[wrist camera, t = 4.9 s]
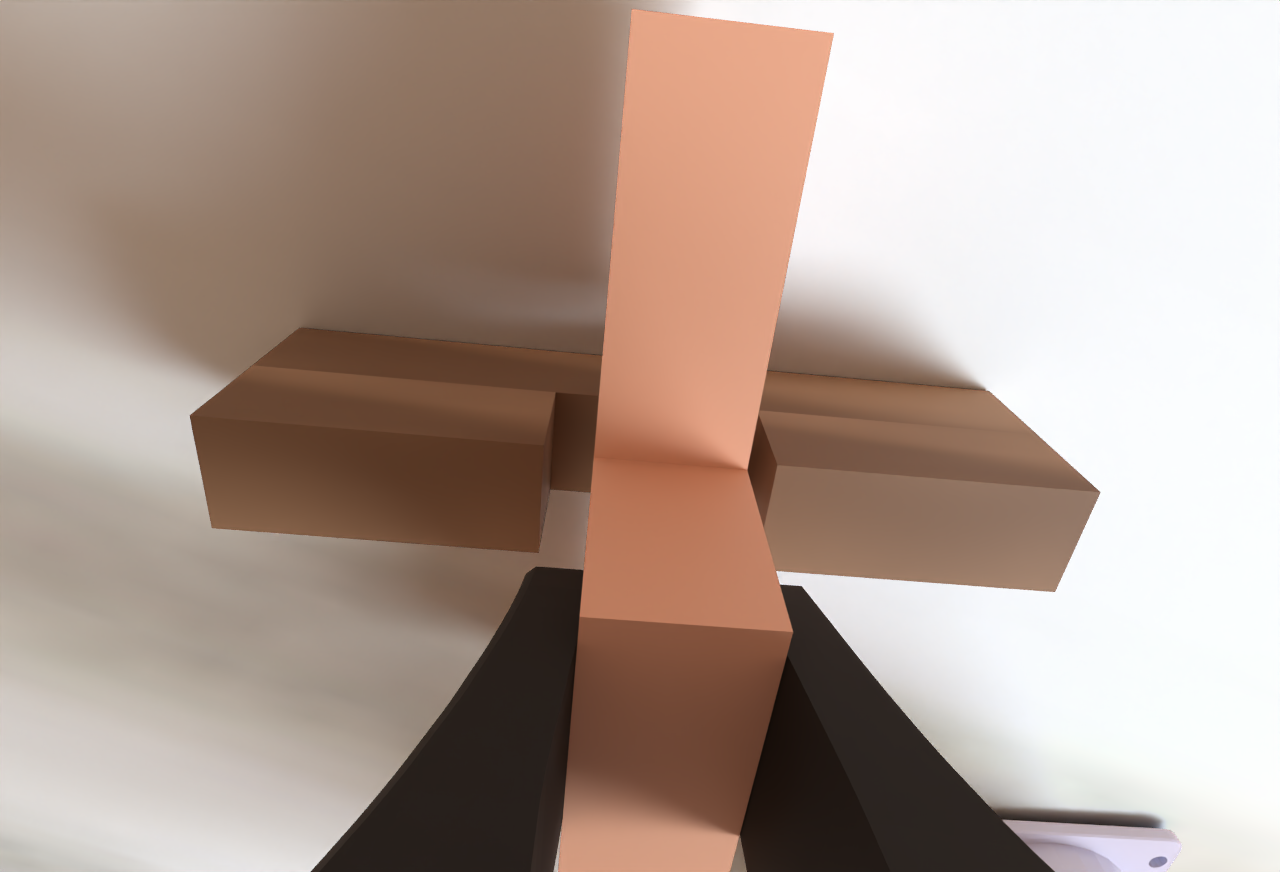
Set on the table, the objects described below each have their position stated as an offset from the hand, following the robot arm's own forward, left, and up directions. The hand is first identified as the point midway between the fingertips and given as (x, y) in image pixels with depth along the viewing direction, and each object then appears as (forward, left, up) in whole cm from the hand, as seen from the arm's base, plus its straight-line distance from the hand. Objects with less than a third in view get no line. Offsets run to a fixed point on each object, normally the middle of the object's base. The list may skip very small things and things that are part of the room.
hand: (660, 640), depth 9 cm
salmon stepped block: (0, 0, -5) cm, 5 cm away
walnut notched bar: (0, 0, -7) cm, 7 cm away
